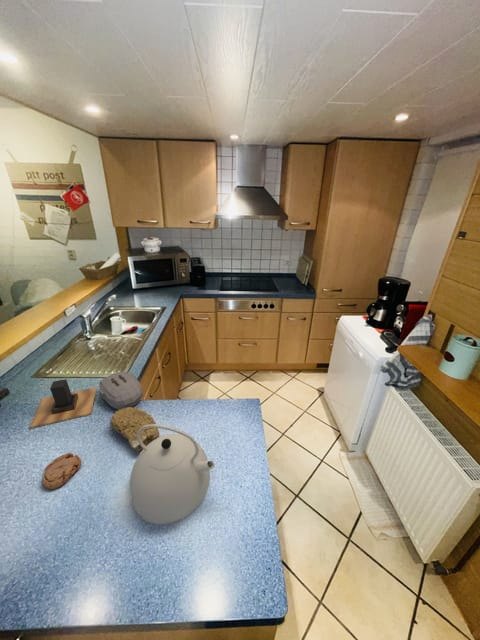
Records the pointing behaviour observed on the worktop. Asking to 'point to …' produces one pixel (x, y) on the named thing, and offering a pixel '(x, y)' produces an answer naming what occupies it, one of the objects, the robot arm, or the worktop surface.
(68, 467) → the cookie
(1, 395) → the robot arm
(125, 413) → the sponge
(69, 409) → the base pad
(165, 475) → the kettle
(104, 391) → the grey rounded bag
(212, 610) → the worktop surface
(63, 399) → the black block
